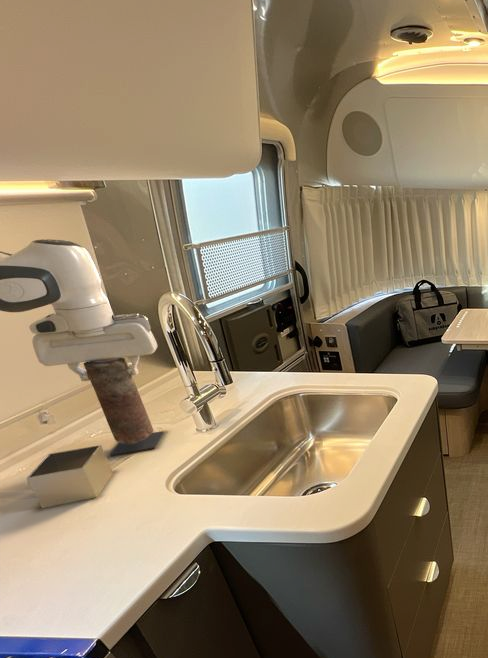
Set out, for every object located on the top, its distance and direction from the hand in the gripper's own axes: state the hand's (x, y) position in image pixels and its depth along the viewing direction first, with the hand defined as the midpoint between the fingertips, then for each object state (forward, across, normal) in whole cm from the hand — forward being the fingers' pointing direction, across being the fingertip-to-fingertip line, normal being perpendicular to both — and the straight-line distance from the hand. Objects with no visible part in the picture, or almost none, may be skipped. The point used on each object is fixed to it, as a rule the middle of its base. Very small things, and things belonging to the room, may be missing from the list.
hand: (110, 377), depth 109 cm
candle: (+16, 0, 0) cm, 16 cm away
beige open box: (+18, +6, +17) cm, 25 cm away
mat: (+18, 0, 0) cm, 18 cm away
